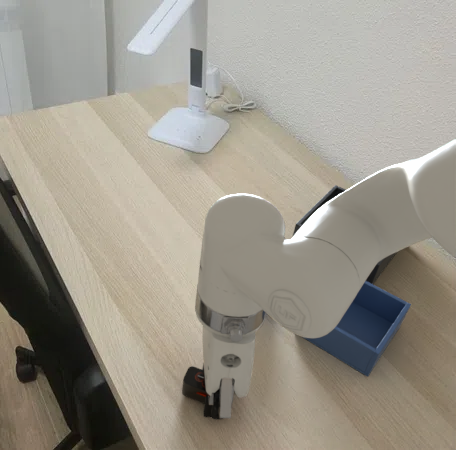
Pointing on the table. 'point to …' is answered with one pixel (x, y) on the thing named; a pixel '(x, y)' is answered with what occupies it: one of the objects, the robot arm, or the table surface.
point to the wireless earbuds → (195, 385)
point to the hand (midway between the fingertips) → (215, 395)
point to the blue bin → (365, 328)
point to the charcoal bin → (329, 196)
